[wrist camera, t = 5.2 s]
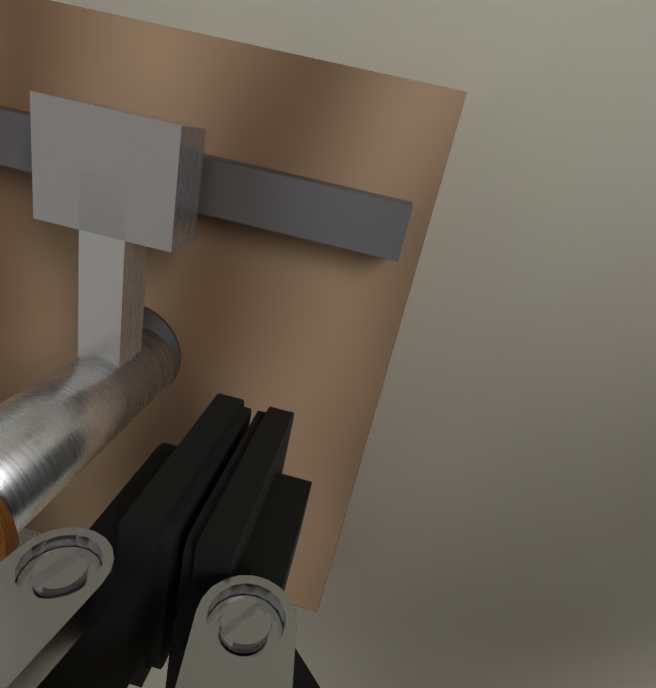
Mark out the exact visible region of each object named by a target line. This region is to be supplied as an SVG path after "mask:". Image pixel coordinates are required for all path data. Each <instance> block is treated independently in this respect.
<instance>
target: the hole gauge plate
mask: <svg viewBox="0 0 656 688" xmlns="http://www.w3.org/2000/svg"><path fill="white" fill-rule="evenodd" d="M30 91H35V92H42V93H48V94H55V95H61V96H67V97H73V98H77V99H81V100H86V101H90V102H94V103H99V104H103V105H107V106H111V107H116V108H120V109H124V110H129V111H133V112H137V113H142V114H146V115H150V116H155V117H159V118H163V119H168V120H172V121H176V122H181V123H185V124H189V125H193V126H198V127H202V128H206V136H205V146H204V156H203V165H202V175H201V185H200V195H199V205H198V215H197V225H196V235H195V242H194V243H192V244H190V245H187V246H185V247H183V248H180V249H178V250H176V251H174V252H167V251H163V250H159V249H155V248H151V247H148V249H147V265H146V281H145V297H144V313H143V328H146V329H149V330H151V331H153V332H155V333H156V334H157V335H159V336H160V337H161V338H162V339H163V340H164V341H165V342H166V343H167V345H168V346H169V348H170V349H171V351H172V354H173V356H174V360H175V374H174V377H173V379H172V381H171V383H170V384H169V385H168V386H167V387H166V388H165V389H164V390H163V391H162V392H161V393H160V394H159V395H158V396H157V397H156V398H155V399H154V400H153V401H152V402H151V403H150V404H149V405H148V406H147V407H146V408H145V409H144V410H143V411H142V412H141V413H140V414H139V415H138V416H137V417H136V418H135V419H134V420H133V421H131V422H130V423H129V424H128V425H127V426H126V427H125V428H124V429H123V430H122V431H121V432H120V433H119V434H118V435H117V436H116V437H115V438H114V439H113V440H112V441H111V442H110V443H109V444H108V445H107V446H106V447H105V448H104V449H103V450H102V451H101V452H100V453H99V454H98V455H97V456H96V457H95V458H94V459H93V460H92V461H91V462H90V463H89V464H88V465H87V466H86V467H85V468H84V469H83V470H82V471H81V472H80V473H79V474H78V475H77V476H76V477H75V478H74V479H73V480H72V481H71V482H70V483H69V484H68V485H67V486H66V487H65V488H64V489H63V490H61V491H60V492H59V493H58V494H57V495H56V496H55V497H54V498H53V499H52V500H51V501H50V502H49V503H48V504H47V505H46V506H45V507H44V508H43V509H42V510H41V511H40V512H39V513H38V514H37V515H36V516H35V517H34V518H33V519H32V520H31V521H30V522H29V523H28V524H27V525H26V526H25V528H28V529H31V530H35V531H38V532H42V533H45V532H48V531H50V530H56V529H61V528H66V527H69V528H85V529H88V530H89V528H90V527H91V526H92V525H93V524H94V522H95V521H96V520H97V519H98V518H99V516H100V515H101V514H102V513H103V512H104V510H105V509H106V508H107V507H108V505H109V504H110V503H111V502H112V501H113V499H114V498H115V497H116V496H117V495H118V493H119V492H120V491H121V490H122V489H123V487H124V486H125V485H126V484H127V483H128V481H129V480H130V479H131V478H132V477H133V475H134V474H135V473H136V472H137V471H138V469H139V468H140V467H141V466H142V465H143V463H144V462H145V461H146V460H147V459H148V457H149V456H150V455H151V454H152V453H153V451H154V450H155V449H156V448H157V447H158V446H159V445H160V444H161V443H164V442H165V443H169V444H172V445H176V446H178V445H179V443H180V442H181V441H182V440H183V438H184V437H185V436H186V434H187V433H188V432H189V430H190V429H191V428H192V426H193V425H194V424H195V423H196V421H197V420H198V419H199V417H200V416H201V415H202V413H203V412H204V411H205V409H206V408H207V407H208V406H209V404H210V403H211V402H212V400H213V399H214V398H215V396H216V395H217V394H218V393H220V394H224V395H228V396H232V397H236V398H240V399H243V400H244V407H248V408H251V419H250V423H251V422H252V420H253V418H254V416H255V415H256V413H257V411H258V410H259V411H263V412H266V411H267V409H268V408H269V407H270V406H271V407H274V408H278V409H282V410H286V411H290V412H294V419H293V424H292V429H291V434H290V438H289V443H288V448H287V453H286V458H285V462H284V467H283V472H282V474H285V475H289V476H293V477H296V478H300V479H304V480H308V481H311V482H312V485H311V490H310V494H309V498H308V502H307V506H306V511H305V515H304V519H303V523H302V527H301V531H300V534H299V538H298V542H297V546H296V550H295V553H294V557H293V561H292V564H291V568H290V572H289V576H288V579H287V583H286V587H285V590H284V592H285V593H286V594H287V596H288V597H289V598H290V600H291V603H292V605H294V606H298V607H301V608H305V609H308V610H312V611H315V612H317V611H318V608H319V604H320V601H321V597H322V594H323V590H324V587H325V583H326V580H327V577H328V573H329V570H330V566H331V563H332V559H333V556H334V552H335V549H336V545H337V542H338V538H339V535H340V531H341V528H342V524H343V521H344V517H345V514H346V510H347V507H348V503H349V500H350V497H351V493H352V490H353V486H354V483H355V479H356V476H357V472H358V469H359V465H360V462H361V458H362V455H363V451H364V448H365V444H366V441H367V437H368V434H369V430H370V427H371V424H372V420H373V417H374V413H375V410H376V406H377V403H378V399H379V396H380V392H381V389H382V385H383V382H384V378H385V375H386V371H387V368H388V364H389V361H390V357H391V354H392V350H393V347H394V344H395V340H396V337H397V333H398V330H399V326H400V323H401V319H402V316H403V312H404V309H405V305H406V302H407V298H408V295H409V291H410V288H411V284H412V281H413V277H414V274H415V271H416V267H417V264H418V260H419V257H420V253H421V250H422V246H423V243H424V239H425V236H426V232H427V229H428V225H429V222H430V218H431V215H432V211H433V208H434V204H435V201H436V197H437V194H438V191H439V187H440V184H441V180H442V177H443V173H444V170H445V166H446V163H447V159H448V156H449V152H450V149H451V145H452V142H453V138H454V135H455V131H456V128H457V124H458V121H459V118H460V114H461V111H462V107H463V104H464V100H465V97H466V93H467V92H464V91H459V90H454V89H450V88H445V87H441V86H436V85H432V84H427V83H423V82H418V81H414V80H409V79H404V78H400V77H395V76H391V75H386V74H382V73H377V72H373V71H368V70H364V69H359V68H354V67H350V66H345V65H341V64H336V63H332V62H327V61H323V60H318V59H313V58H309V57H304V56H300V55H295V54H291V53H286V52H282V51H277V50H273V49H268V48H263V47H259V46H254V45H250V44H245V43H241V42H236V41H232V40H227V39H223V38H218V37H213V36H209V35H204V34H200V33H195V32H191V31H186V30H182V29H177V28H172V27H168V26H163V25H159V24H154V23H150V22H145V21H141V20H136V19H132V18H127V17H122V16H118V15H113V14H109V13H104V12H100V11H95V10H91V9H86V8H82V7H77V6H72V5H68V4H63V3H59V2H54V1H50V0H0V403H2V402H3V401H5V400H7V399H8V398H10V397H11V396H13V395H15V394H16V393H18V392H19V391H21V390H23V389H24V388H26V387H28V386H29V385H31V384H32V383H34V382H36V381H37V380H39V379H40V378H42V377H44V376H45V375H47V374H48V373H50V372H52V371H53V370H55V369H56V368H58V367H60V366H61V365H63V364H64V363H66V362H68V361H69V360H71V359H72V358H74V357H76V356H77V355H78V277H79V230H78V229H74V228H70V227H66V226H62V225H58V224H54V223H50V222H46V221H42V220H38V219H34V218H33V187H32V153H31V120H30Z"/></svg>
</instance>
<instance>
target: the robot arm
mask: <svg viewBox="0 0 656 688" xmlns="http://www.w3.org/2000/svg"><path fill="white" fill-rule="evenodd" d="M250 419H251V408H248V407H244V400H243V399H240V398H236V397H232V396H228V395H224V394H220V393H218V394H217V395H216V396H215V398H214V399H213V400H212V402H211V403H210V404H209V406H208V407H207V408H206V409H205V411H204V412H203V413H202V415H201V416H200V417H199V419H198V420H197V421H196V423H195V424H194V425H193V426H192V428H191V429H190V430H189V432H188V433H187V434H186V436H185V437H184V438H183V440H182V441H181V442H180V443H179V445H178V446H176V445H172V444H169V443H165V442H164V443H161V444H160V445H159V446H158V447H157V448H156V449H155V450H154V451H153V453H152V454H151V455H150V456H149V457H148V459H147V460H146V461H145V462H144V463H143V465H142V466H141V467H140V468H139V469H138V471H137V472H136V473H135V474H134V475H133V477H132V478H131V479H130V480H129V481H128V483H127V484H126V485H125V486H124V487H123V489H122V490H121V491H120V492H119V493H118V495H117V496H116V497H115V498H114V499H113V501H112V502H111V503H110V504H109V505H108V507H107V508H106V509H105V510H104V512H103V513H102V514H101V515H100V516H99V518H98V519H97V520H96V521H95V522H94V524H93V525H92V526H91V527H90V528H89V530H88V529H85V528H69V527H66V528H61V529H56V530H50V531H48V532H45V533H43V534H40V535H38V536H35V537H33V538H32V539H30V540H29V541H27V542H26V543H24V544H23V545H21V546H20V547H18V548H17V549H16V550H15V551H13V552H12V553H11V554H10V555H9V556H7V557H6V558H5V559H4V560H2V561H1V562H0V688H127V687H128V685H129V684H132V685H135V686H139V687H142V686H143V683H144V681H145V679H146V677H147V675H148V673H149V671H150V669H151V667H155V668H158V669H161V668H162V667H163V665H164V664H165V662H166V660H167V658H168V656H169V663H168V671H167V680H166V688H320V687H319V685H318V684H317V682H316V680H315V679H314V677H313V676H312V674H311V672H310V671H309V669H308V668H307V666H306V664H305V663H304V661H303V660H302V658H301V656H300V655H299V653H298V652H297V650H296V648H295V640H296V615H295V609H294V607H293V605H292V603H291V600H290V598H289V597H288V596H287V594H286V593H285V592H284V590H285V587H286V583H287V579H288V576H289V572H290V568H291V564H292V561H293V557H294V553H295V550H296V546H297V542H298V538H299V534H300V531H301V527H302V523H303V519H304V515H305V511H306V506H307V502H308V498H309V494H310V490H311V485H312V482H311V481H308V480H304V479H300V478H296V477H293V476H289V475H285V474H282V472H283V467H284V462H285V458H286V453H287V448H288V443H289V438H290V434H291V429H292V424H293V419H294V412H290V411H286V410H282V409H278V408H274V407H271V406H270V407H269V408H268V409H267V411H266V412H263V411H259V410H258V411H257V413H256V415H255V416H254V418H253V420H252V422H251V423H250ZM169 653H170V654H169Z"/></svg>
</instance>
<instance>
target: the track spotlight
mask: <svg viewBox="0 0 656 688" xmlns="http://www.w3.org/2000/svg"><path fill="white" fill-rule="evenodd" d="M30 120H31V153H32V187H33V218H34V219H38V220H42V221H46V222H50V223H54V224H58V225H62V226H66V227H70V228H74V229H78V230H79V277H78V355H77V356H76V357H74V358H72V359H71V360H69V361H68V362H66V363H64V364H63V365H61V366H60V367H58V368H56V369H55V370H53V371H52V372H50V373H48V374H47V375H45V376H44V377H42V378H40V379H39V380H37V381H36V382H34V383H32V384H31V385H29V386H28V387H26V388H24V389H23V390H21V391H19V392H18V393H16V394H15V395H13V396H11V397H10V398H8V399H7V400H5V401H3V402H2V403H0V562H1V561H2V560H4V559H5V558H6V557H7V556H9V555H10V554H11V553H12V552H13V551H15V550H16V549H17V548H18V547H19V539H18V533H19V532H20V531H21V530H22V529H23V528H24V527H25V526H26V525H27V524H28V523H29V522H30V521H31V520H32V519H33V518H34V517H35V516H36V515H37V514H38V513H39V512H40V511H41V510H42V509H43V508H44V507H45V506H46V505H47V504H48V503H49V502H50V501H51V500H52V499H53V498H54V497H55V496H56V495H57V494H58V493H59V492H60V491H61V490H63V489H64V488H65V487H66V486H67V485H68V484H69V483H70V482H71V481H72V480H73V479H74V478H75V477H76V476H77V475H78V474H79V473H80V472H81V471H82V470H83V469H84V468H85V467H86V466H87V465H88V464H89V463H90V462H91V461H92V460H93V459H94V458H95V457H96V456H97V455H98V454H99V453H100V452H101V451H102V450H103V449H104V448H105V447H106V446H107V445H108V444H109V443H110V442H111V441H112V440H113V439H114V438H115V437H116V436H117V435H118V434H119V433H120V432H121V431H122V430H123V429H124V428H125V427H126V426H127V425H128V424H129V423H130V422H131V421H133V420H134V419H135V418H136V417H137V416H138V415H139V414H140V413H141V412H142V411H143V410H144V409H145V408H146V407H147V406H148V405H149V404H150V403H151V402H152V401H153V400H154V399H155V398H156V397H157V396H158V395H159V394H160V393H161V392H162V391H163V390H164V389H165V388H166V387H167V386H168V385H169V384H170V383H171V381H172V379H173V377H174V374H175V360H174V356H173V354H172V351H171V349H170V348H169V346H168V345H167V343H166V342H165V341H164V340H163V339H162V338H161V337H160V336H159V335H157V334H156V333H155V332H153V331H151V330H149V329H146V328H143V313H144V297H145V281H146V265H147V249H148V247H151V248H155V249H159V250H163V251H167V252H174V251H176V250H178V249H180V248H183V247H185V246H187V245H190V244H192V243H194V242H195V235H196V225H197V215H198V205H199V195H200V185H201V175H202V165H203V156H204V146H205V136H206V128H202V127H198V126H193V125H189V124H185V123H181V122H176V121H172V120H168V119H163V118H159V117H155V116H150V115H146V114H142V113H137V112H133V111H129V110H124V109H120V108H116V107H111V106H107V105H103V104H99V103H94V102H90V101H86V100H81V99H77V98H73V97H67V96H61V95H55V94H48V93H42V92H35V91H30Z"/></svg>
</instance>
